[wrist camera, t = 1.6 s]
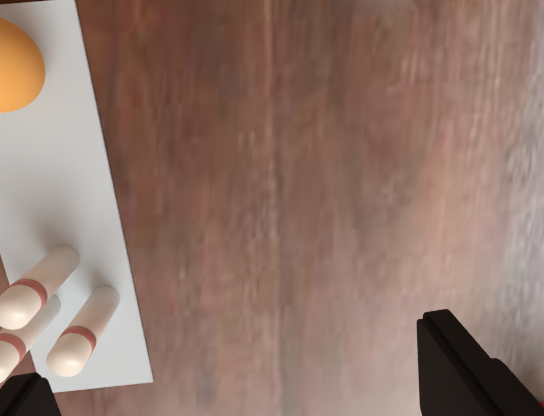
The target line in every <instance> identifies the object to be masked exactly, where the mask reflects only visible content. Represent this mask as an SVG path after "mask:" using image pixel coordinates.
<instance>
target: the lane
mask: <svg viewBox="0 0 544 416" xmlns="http://www.w3.org/2000/svg"><path fill="white" fill-rule="evenodd" d="M0 18H2V19H5V20H7V21H9V22H11V23H13V24H15V25H16V26H18V27H19V28H21V29H22V30H23V31H25V32H26V33H27V34H28V35H29V36H30V37H31V38H32V40H33V41H34V42H35V44H36V45H37V46H38V48H39V50H40V52H41V54H42V56H43V60H44V64H45V81H44V85H43V87H42V90H41V91H40V93H39V95H38V96H37V97H36V98H35V99H34V100H33V101H32V102H31V103H30V104H28V105H27V106H25V107H23V108H21V109H18V110H15V111H12V112H5V113H0V255H1V258H2V261H3V264H4V268H5V271H6V274H7V277H8V281H9V284H10V286H11V285H12V284H13V283H14V282H15V281H17V280H19V279H20V278H21V277H22V276H23V275H24V274H25V273H27V272H28V271H29V270H30V269H31V268H32V267H33V266H34V265H36V264H37V263H38V262H39V261H40V260H41V259H42V258H43V257H45V256H46V255H47V254H48V253H49V252H50V251H51V250H53V249H54V248H55V247H57V246H59V245H68V246H71V247H72V248H74V249H75V250H76V251H77V252H78V254H79V256H80V264H79V266H78V267H77V268H76V270H75V271H74V272H73V273H72V274H71V275H70V276H69V277H68V278H67V280H66V281H65V282H64V283H63V284H62V285H61V286H60V287H59V289H58V290H57V291H56V292H55V293H54V295H56V296H57V297H58V298H59V300H60V302H61V309H60V311H59V313H58V314H57V315H56V316H55V318H54V319H53V320H52V321H51V323H50V324H49V325H48V326H47V328H46V329H45V330H44V331H43V333H42V334H41V335H40V336H39V338H38V339H37V340H36V341H35V343H34V344H33V345H32V346H31V348H30V352H31V355H32V358H33V362H34V365H35V368H36V371H37V373H39V374H40V375H41V377H44V378H46V379H47V380H48V381H49V384H50V386H51V389H52V392H53V393H54V392H64V391H73V390H82V389H91V388H101V387H110V386H119V385H129V384H138V383H147V382H153V381H154V380H153V375H152V370H151V365H150V360H149V356H148V351H147V346H146V341H145V336H144V331H143V326H142V322H141V317H140V312H139V307H138V302H137V297H136V293H135V288H134V283H133V278H132V273H131V268H130V264H129V259H128V254H127V249H126V244H125V239H124V235H123V230H122V225H121V220H120V215H119V210H118V205H117V201H116V196H115V191H114V186H113V181H112V176H111V172H110V167H109V162H108V157H107V152H106V147H105V143H104V138H103V133H102V128H101V123H100V118H99V114H98V109H97V104H96V99H95V94H94V89H93V84H92V80H91V75H90V70H89V65H88V60H87V55H86V51H85V46H84V41H83V36H82V31H81V26H80V22H79V17H78V12H77V7H76V2H75V0H50V1H38V2H26V3H14V4H1V5H0ZM100 286H110V287H112V288H114V289H115V290H116V291H117V292H118V293H119V295H120V303H119V305H118V307H117V309H116V310H115V312H114V314H113V316H112V317H111V319H110V321H109V323H108V324H107V326H106V328H105V330H104V332H103V333H102V335H101V337H100V339H99V340H98V342H97V344H96V347H95V349H94V351H93V352H92V354H91V356H90V357H89V358H88V360H87V362H86V363H85V365H84V367H83V369H82V370H81V371H80V372H79V373H78V374H77V375H75V376H71V377H62V376H59V375H56V374H55V373H53V372H52V371H51V370H50V369H49V368H48V366H47V363H46V358H47V355H48V353H49V352H50V350H51V349H52V348H53V346H54V345H55V343H56V341H57V339H58V338H59V337H60V335H61V334H62V332H63V331H64V330H65V329H66V328H67V327H68V325H69V324H70V323H71V321H72V320H73V318H74V317H75V316H76V314H77V313H78V312H79V310H80V309H81V307H82V306H83V305H84V303H85V302H86V300H87V299H88V298H89V296H90V295H91V293H92V292H93V291H94V290H95V289H96V288H97V287H100Z"/></svg>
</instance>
